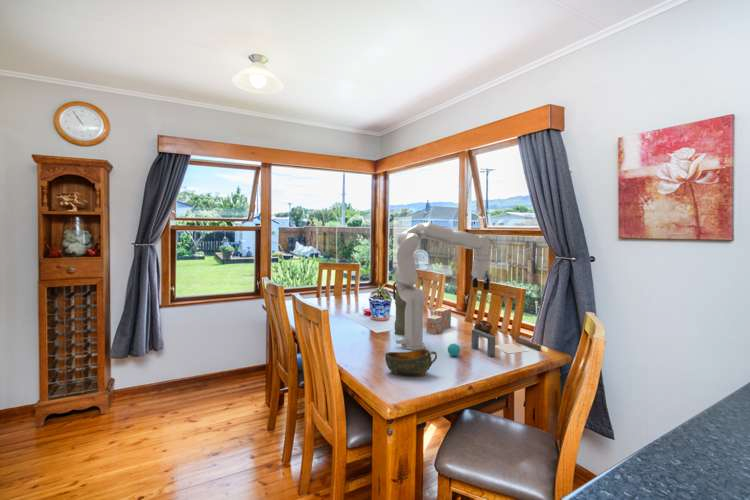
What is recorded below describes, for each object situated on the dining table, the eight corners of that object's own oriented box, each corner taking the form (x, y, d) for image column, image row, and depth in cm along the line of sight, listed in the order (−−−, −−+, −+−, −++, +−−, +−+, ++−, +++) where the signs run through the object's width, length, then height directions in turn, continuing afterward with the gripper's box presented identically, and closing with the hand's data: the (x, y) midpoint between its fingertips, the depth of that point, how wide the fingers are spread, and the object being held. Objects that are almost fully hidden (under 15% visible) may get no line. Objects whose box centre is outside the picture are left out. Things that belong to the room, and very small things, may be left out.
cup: (424, 384, 147) (425, 358, 147) (382, 373, 158) (382, 350, 158) (438, 374, 158) (438, 350, 158) (397, 365, 169) (397, 343, 169)
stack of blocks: (435, 334, 219) (435, 314, 218) (426, 332, 223) (426, 312, 222) (450, 327, 236) (451, 308, 235) (441, 325, 240) (442, 306, 239)
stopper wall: (538, 350, 189) (538, 346, 189) (515, 342, 204) (516, 337, 204) (541, 350, 190) (541, 345, 190) (518, 341, 205) (519, 337, 205)
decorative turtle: (469, 335, 218) (469, 321, 218) (480, 331, 229) (480, 318, 229) (485, 337, 211) (485, 323, 212) (496, 333, 223) (496, 320, 223)
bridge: (489, 357, 179) (490, 337, 179) (471, 347, 194) (471, 329, 193) (494, 356, 181) (495, 336, 180) (476, 347, 195) (476, 329, 194)
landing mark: (508, 353, 185) (508, 353, 185) (491, 346, 197) (491, 345, 197) (529, 351, 189) (529, 350, 189) (511, 343, 201) (511, 343, 201)
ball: (451, 358, 177) (452, 346, 177) (445, 354, 183) (445, 342, 182) (462, 357, 179) (462, 345, 179) (455, 353, 185) (455, 341, 185)
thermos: (409, 336, 214) (410, 276, 212) (390, 333, 219) (390, 275, 217) (413, 332, 222) (414, 274, 221) (395, 330, 227) (396, 273, 225)
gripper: (466, 256, 212) (465, 286, 213) (485, 259, 196) (485, 291, 196) (477, 256, 214) (476, 286, 215) (497, 258, 198) (496, 290, 199)
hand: (480, 288), depth 206 cm, fingers open, 9 cm apart
